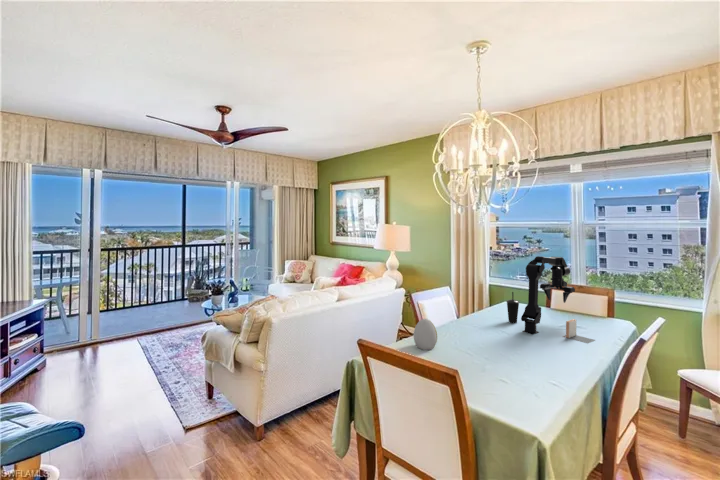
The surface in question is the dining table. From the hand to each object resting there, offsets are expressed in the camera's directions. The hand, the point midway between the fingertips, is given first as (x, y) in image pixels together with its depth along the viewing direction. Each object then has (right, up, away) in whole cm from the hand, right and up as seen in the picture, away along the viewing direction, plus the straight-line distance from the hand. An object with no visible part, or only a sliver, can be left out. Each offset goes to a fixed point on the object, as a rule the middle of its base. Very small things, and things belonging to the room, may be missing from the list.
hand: (556, 301), depth 209 cm
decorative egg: (-90, -18, -35) cm, 98 cm away
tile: (-6, -15, -23) cm, 28 cm away
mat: (-4, -16, -26) cm, 31 cm away
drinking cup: (-25, -15, +6) cm, 30 cm away
